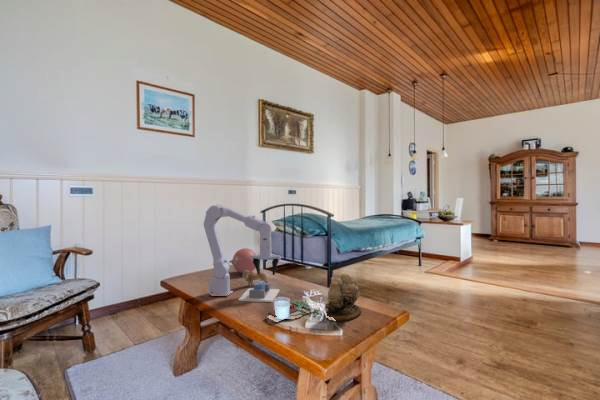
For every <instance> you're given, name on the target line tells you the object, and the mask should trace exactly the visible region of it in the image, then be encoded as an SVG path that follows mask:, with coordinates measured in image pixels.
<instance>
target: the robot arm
mask: <svg viewBox="0 0 600 400" xmlns="http://www.w3.org/2000/svg"><path fill="white" fill-rule="evenodd" d="M224 217H226V218H227V217H229V218H232V219H235V220H236V221H239V222H242V223H244V225H245V227H246V228H249V229H251V230H254V231H256V232H259V254H256V255H252V256H251V260H253V264H254V265H255V267H256V268H255V269H256V273H257V274H258V275H259V274H260V272H261V261H262V260H263V261H264V260H268V261H271V264H272V276H274V275H276V270H277V267H278V263H279V261H281V260H282V257H281V255H277V254H273V253H272V233H271V231H272V225H271V224H270V223H269V222H268V221H265V220H264V219H259V218H257V217H256V215H254V214H253V215H252V214H251V215H249V216H247V215H245V214H243V213H240V212H238V211H236V210H234V209H232V208H230V207H227V206H224V205H221V204H216V205H211V206H210V207H208V208H207V210H206V211H205V217H204V220H203V228H204V231H205V234H206V238H207V242H208V244H209V249H210V253H211V255H212V259H213V260H212V261H213V262H212V264H213V275H212V276H210V278H209V281H208V287H209V289H208V293H209V294H215V295H227V294H228V295H229V294H230V293H231V294H232V293H233V292H234V291H233V290H231V284H230V283H231V280H230V279H231V277H230V275H231V274H230V273H229V272H230V270H231V264H230V263H229V261H228V260H227V258H226V256H225V255H224V252H223V248H222V244H221V242H220V238H219V235H218V231H217V228H216V224H217V223H218V221H219V220H220V219H221V218H224ZM209 294H208V295H209ZM231 294H230V295H231ZM230 295H229V296H230Z"/></svg>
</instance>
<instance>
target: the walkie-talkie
mask: <svg viewBox="0 0 600 400" xmlns="http://www.w3.org/2000/svg"><path fill="white" fill-rule="evenodd" d="M289 304H290V316H297V315H302V313H303V312H304V311H300V310H299V311H298V309H299V308H298V307H296V306H295V305H293V304H291V303H289ZM295 307H296V308H295ZM297 308H298V309H297ZM275 310H276V309H273V310H270V311H268V312H267V313H268V314H267V317H268V316H269V315H272V316H274V317H277V316H276V315H275ZM302 316H303V315H302Z"/></svg>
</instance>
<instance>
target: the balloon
mask: <svg viewBox="0 0 600 400" xmlns="http://www.w3.org/2000/svg"><path fill="white" fill-rule="evenodd" d="M252 255H257V254H256V252H255V251H254V250H252V249H250V248H247V247H246V248H245V247H244V248H241V249H239V250H238V249H237V251H236V252H235V253H234V255H233V257H232V259H230V260H228V263H229V264H230V263H231V264H232V266H233V268H234V270H236V271H237V272H238V273H240V274H243V272H244V271H245V270H248V271H250V272H252V273H253V271H255V269H256V267H255V265H254V264H253V260H251V256H252Z"/></svg>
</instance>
